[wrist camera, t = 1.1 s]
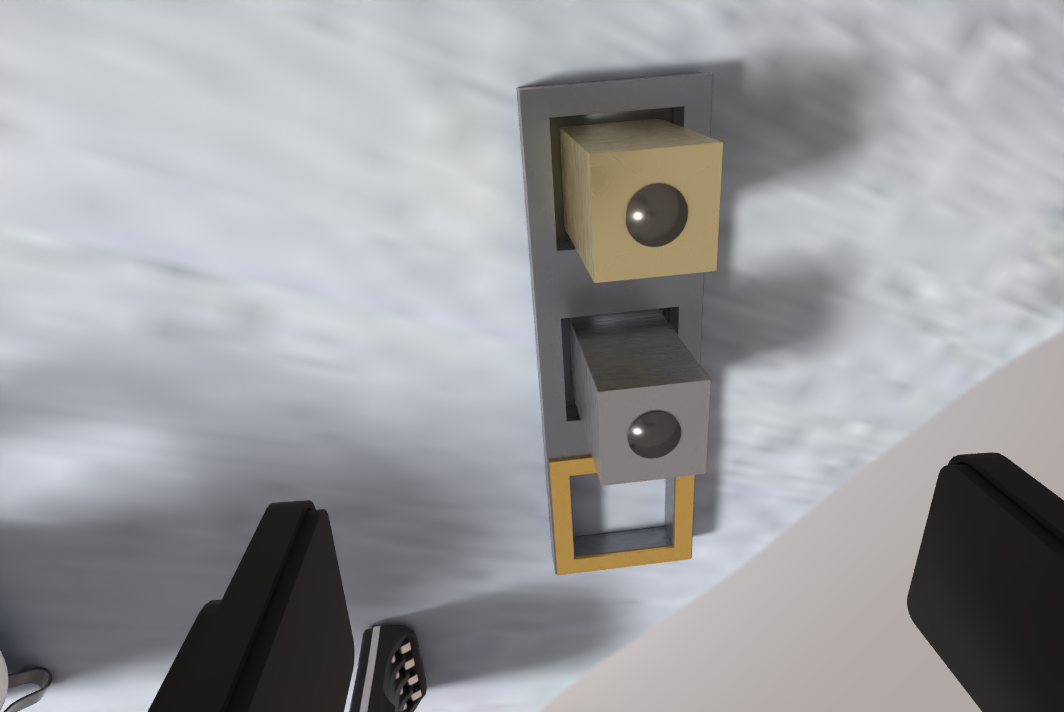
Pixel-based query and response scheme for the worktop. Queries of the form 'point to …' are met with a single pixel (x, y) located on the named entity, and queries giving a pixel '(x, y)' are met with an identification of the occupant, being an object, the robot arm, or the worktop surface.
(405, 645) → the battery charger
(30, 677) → the coffee press
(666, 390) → the grey block with knob
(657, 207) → the wooden block with knob
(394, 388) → the worktop surface
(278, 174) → the worktop surface
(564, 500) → the grey block holder rack
